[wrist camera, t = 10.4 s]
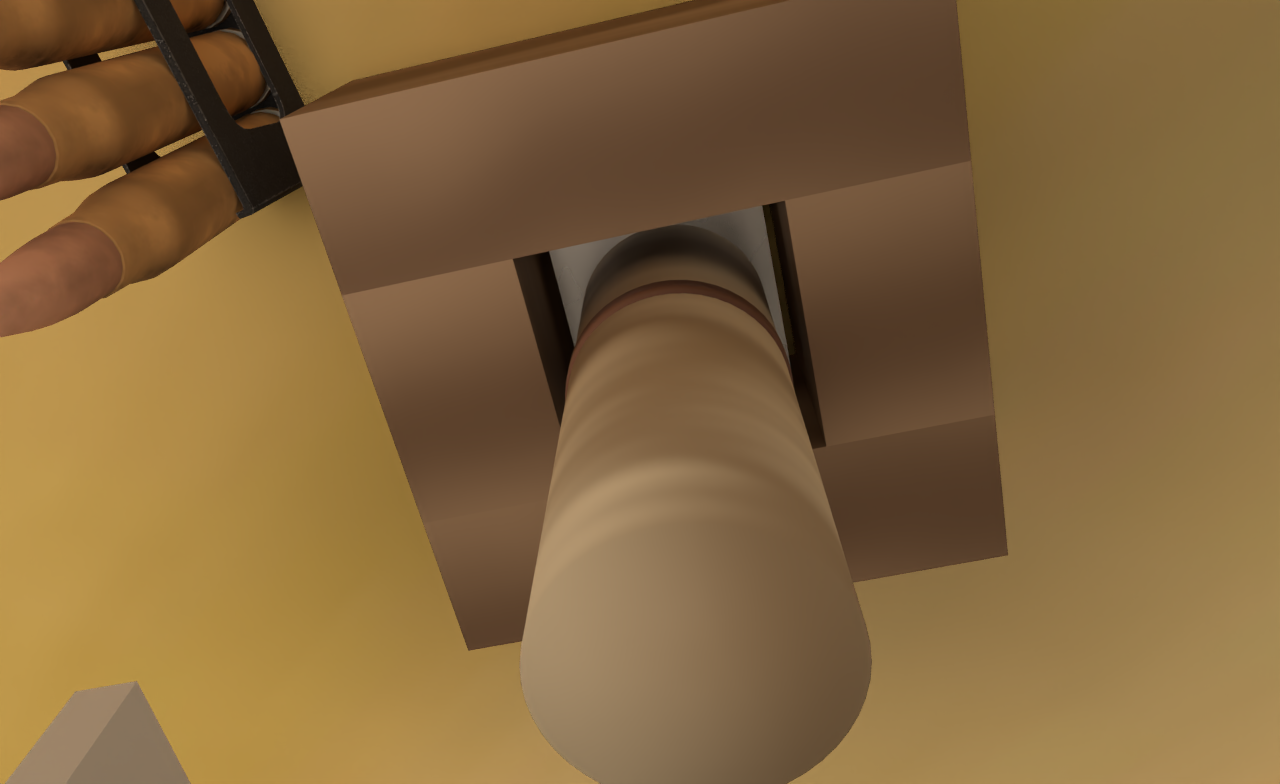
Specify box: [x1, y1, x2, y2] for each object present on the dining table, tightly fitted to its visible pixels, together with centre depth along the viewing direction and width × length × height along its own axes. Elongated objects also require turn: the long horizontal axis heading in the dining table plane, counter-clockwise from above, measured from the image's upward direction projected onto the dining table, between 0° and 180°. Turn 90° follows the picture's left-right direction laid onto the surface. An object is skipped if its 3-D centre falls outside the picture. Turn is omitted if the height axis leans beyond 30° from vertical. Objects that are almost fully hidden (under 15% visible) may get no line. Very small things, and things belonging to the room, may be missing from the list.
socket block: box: [279, 0, 1008, 651], centre depth 23 cm, size 12×12×5 cm
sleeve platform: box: [549, 206, 794, 386], centre depth 23 cm, size 5×5×1 cm
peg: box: [520, 224, 872, 784], centre depth 17 cm, size 4×4×12 cm
